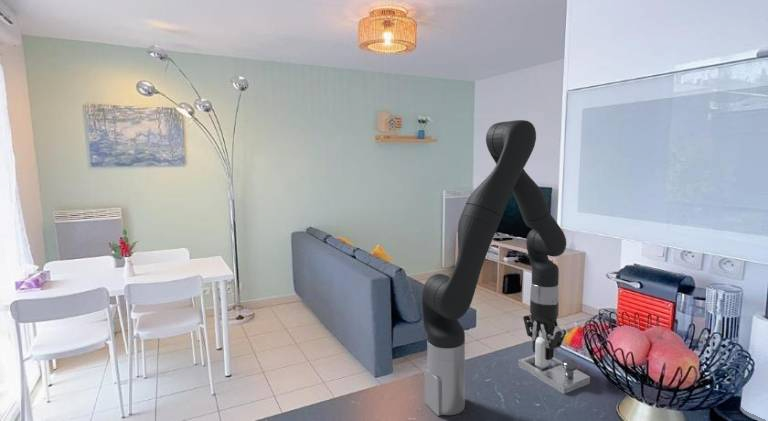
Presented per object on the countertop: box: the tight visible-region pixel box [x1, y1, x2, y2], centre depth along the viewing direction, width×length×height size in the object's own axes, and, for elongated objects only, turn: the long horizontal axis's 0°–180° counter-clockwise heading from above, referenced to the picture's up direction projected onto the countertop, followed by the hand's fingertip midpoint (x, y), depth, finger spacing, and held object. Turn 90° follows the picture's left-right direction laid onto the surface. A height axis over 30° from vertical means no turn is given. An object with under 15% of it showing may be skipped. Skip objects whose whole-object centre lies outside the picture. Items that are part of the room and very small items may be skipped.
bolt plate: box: [517, 354, 591, 395], centre depth 114 cm, size 10×16×6 cm, turn 26°
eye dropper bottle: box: [534, 330, 551, 369], centre depth 117 cm, size 4×6×12 cm
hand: (542, 355), depth 117 cm, fingers closed on eye dropper bottle, 3 cm apart
